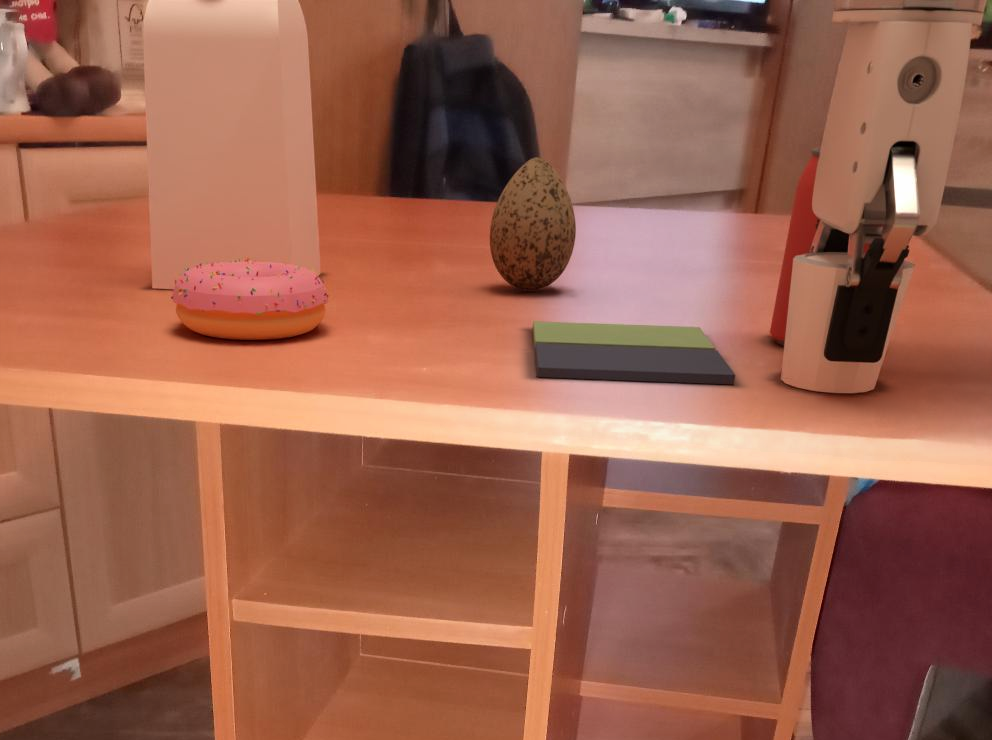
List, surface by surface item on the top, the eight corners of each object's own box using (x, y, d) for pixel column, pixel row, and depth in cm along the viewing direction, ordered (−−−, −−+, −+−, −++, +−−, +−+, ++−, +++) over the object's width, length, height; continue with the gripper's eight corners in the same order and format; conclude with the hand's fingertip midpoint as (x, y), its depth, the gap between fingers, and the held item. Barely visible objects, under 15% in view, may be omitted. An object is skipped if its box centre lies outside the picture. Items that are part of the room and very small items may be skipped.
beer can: (826, 358, 77) (870, 154, 71) (748, 340, 82) (783, 147, 75) (884, 347, 81) (931, 152, 74) (806, 331, 85) (844, 145, 79)
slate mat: (715, 359, 76) (717, 350, 76) (734, 384, 70) (735, 374, 70) (534, 352, 77) (535, 343, 77) (537, 377, 71) (538, 367, 71)
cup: (898, 380, 72) (928, 258, 68) (868, 401, 67) (899, 271, 63) (790, 365, 75) (813, 247, 71) (755, 384, 70) (777, 259, 67)
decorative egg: (564, 299, 95) (576, 161, 89) (479, 294, 96) (486, 158, 91) (575, 286, 101) (587, 156, 95) (494, 281, 102) (502, 153, 97)
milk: (320, 273, 104) (316, -88, 90) (293, 294, 94) (283, -106, 80) (192, 268, 105) (167, -89, 91) (152, 288, 96) (118, -108, 82)
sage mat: (698, 335, 83) (700, 327, 83) (713, 356, 77) (715, 347, 77) (532, 329, 84) (533, 321, 83) (534, 350, 78) (535, 340, 77)
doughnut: (232, 309, 88) (229, 250, 86) (357, 325, 84) (357, 263, 82) (142, 333, 80) (136, 267, 78) (274, 351, 76) (272, 283, 73)
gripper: (1050, -17, 53) (943, 382, 63) (932, 1, 68) (860, 322, 77) (885, -20, 53) (803, 377, 63) (803, -2, 68) (747, 318, 78)
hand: (835, 344), depth 70 cm, fingers open, 7 cm apart
